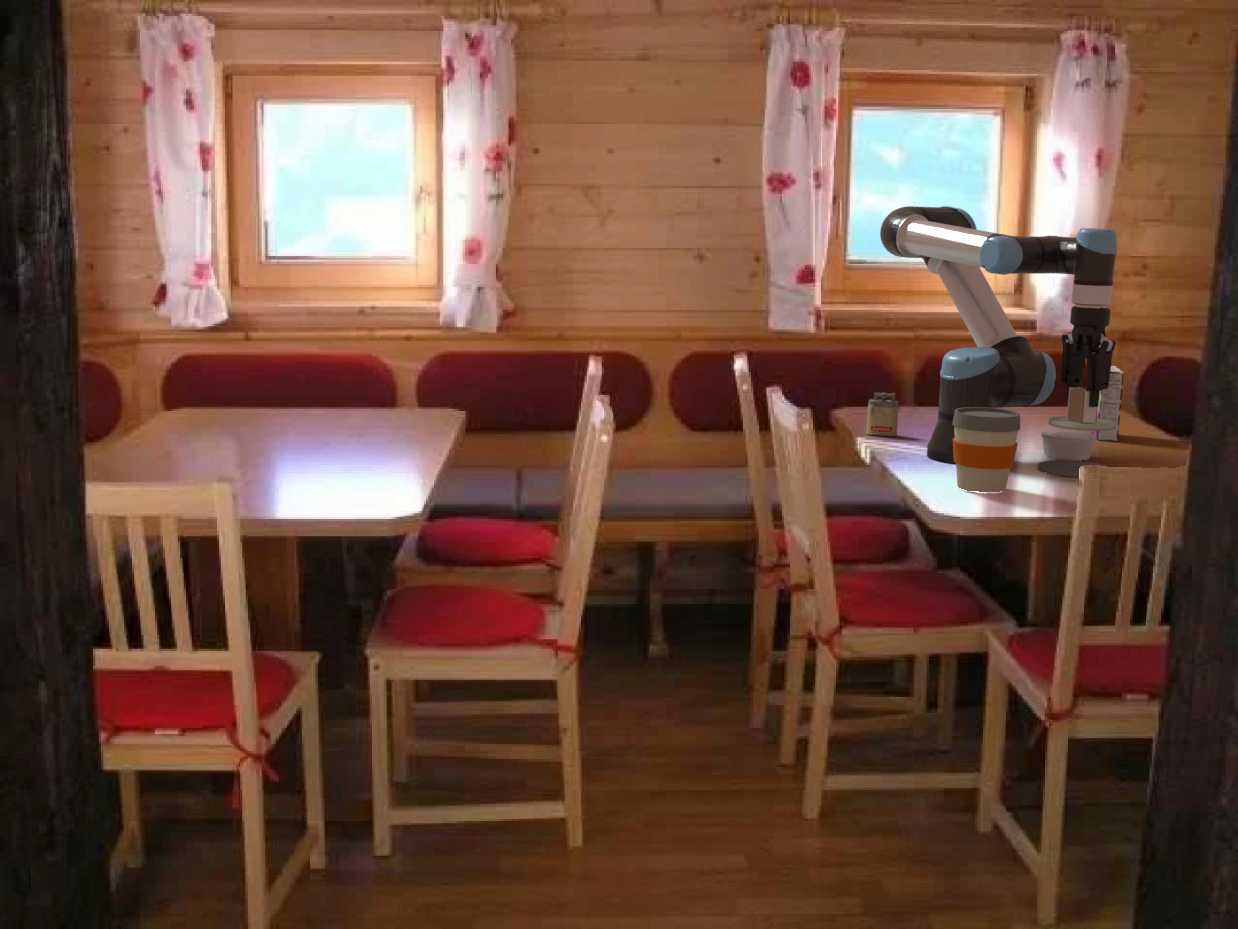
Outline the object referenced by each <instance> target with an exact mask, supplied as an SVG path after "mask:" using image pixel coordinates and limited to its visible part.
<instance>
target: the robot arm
mask: <svg viewBox="0 0 1238 929" xmlns="http://www.w3.org/2000/svg"><path fill="white" fill-rule="evenodd" d="M879 233H880V234H879V235H880V241H881V244H882V246H883V248H884V249H885V250H886V251H887V252H888V253H890V254H891V255H892V256H895V257H898V258H906V259H908V258H909V259H922V260H923V261H924V264H925V265H926V268H927V269H928V271H929V272H930V273H932V274H934V275H938V276H939V278H940V279H941V281H942V283H943V285H944V286H945V288H946V290H947V292H948V294H949V296H950V298H951V299H952V303H953V304H954V306H955V307H956V309H957V311H958V313H959V315H960V316H961V319H962V320H963V323H964V324H965V326H966V328H967V330H968V333H969V334H970V335H971V338H972V339H973V342H974V343H975V345H976V347H975V346H974V347H970V346H969V347H962V348H961V347H960V348H956V349H952V350H950V351H948V352H946V353H945V354H944V356H943V358H942V362H941V369H940V372H939V375H940V382H939V399H938V412H937V421H936V424H935V426H934V429H933V432H932V434H931V437H930V440H929V442H928V444H927V450H926V456H927V457H928V458H930V459H932V460H935V461H938V462H939V461H940V462H944V463H951V464H956V463H955V462H954V455H953V438H955V433H954V426H953V425H952V423H953V418H954V413H955V409H958V408H964V407H988V408H999V409H1003V408H1013V407H1014V408H1015V407H1023V408H1026V407H1027V408H1028V407H1030V406H1035V405H1040V404H1041V403H1043V402H1045V401H1046V400H1047V399H1048V398H1049V397H1050V395H1051V394H1052V392H1053V390H1054V388H1055V381H1056V376H1057V374H1056V373H1057V370H1056V365H1055V363H1054V361H1053V358H1052V357H1051V356H1050V355H1049V354H1047V353H1046V352H1043V351H1040V350H1037V351H1035V350H1034V348H1033V346H1032V345H1031V342H1030V340H1029V339H1028V338H1027V337H1026V336H1025V335H1022V334H1017V332H1016V330H1015V328H1014V326H1013V325H1012V323H1011V322H1010V320H1009V319H1008V316H1007V315H1006V312H1005V311H1004V309H1003V307H1002V305H1001V304H1000V302H999V299H998V298H997V297H996V294H995V293H994V291H993V289H992V287H991V285H990V284H989V282H988V280H987V278H986V276H985V275H984V273H983V271H982V269H985V272H987V273H990V274H995V275H1001V276H1003V275H1014V274H1016V275H1017V274H1019V275H1021V274H1027V275H1028V274H1029V275H1030V274H1034V275H1035V274H1036V275H1039V274H1060V275H1061V274H1062V275H1072V276H1073V285H1072V292H1071V293H1072V295H1071V303H1072V304H1073V306H1072V307H1071V310H1070V319H1069V323H1070V324H1071V325H1073V327H1072V330H1071V333H1068V334H1062V335H1061V342H1062V343H1061V344H1062V353H1061V354H1062V355H1061V356H1062V358H1061V372H1060V381H1061V383H1064V384H1066V387H1067V397H1066V400H1067V409H1066V410H1067V412H1066V416H1067V419H1068V409H1069V397H1070V389H1082V388H1083V387H1082V386H1084V384H1083V383H1081V381H1082V377H1083V373H1084V372H1083V371H1084V369H1085V368H1084V367H1085V365H1086V367H1087V368H1086V369H1087V388H1086V387H1085V388H1086V389H1085V390H1086V391H1085V398H1084V409H1083V421H1082V422H1083V423H1094V422H1095V421H1096V410H1097V407H1098V405H1099V394H1100V391H1101V390H1103V389H1107V388H1108V386H1109V378H1110V370H1111V366H1112V359H1113V352H1114V350H1115V348H1116V347H1115V346H1116V344H1117V342H1116V341H1115V340H1110V339H1109V338H1107V334H1106V327H1108V326H1110V321H1111V308H1110V307H1108V306H1111V305H1112V296H1113V284H1114V275H1115V264H1116V259H1117V258H1116V257H1117V253H1118V249H1117V242H1118V241H1117V239H1118V236H1117V235H1118V234H1117V232H1116V230H1114V229H1112V228H1096V227H1095V228H1093V227H1091V228H1085V227H1083V228H1080V229H1079V230H1078V232H1077V237H1071V236H1057V235H1042V236H1021V235H1020V236H1016V235H1008V234H1004V233H1003V234H1002V233H997V232H993V231H986V230H982V229H981V230H980V229H977V226H976V222H975V221H974V218H973V217H972V216H971V215H970V214H969V213H968V212H967V211H966V210H964V209H962V208H960V207H952V206H947V205H946V206H945V205H943V206H938V207H937V206H936V207H935V206H934V207H933V206H912V205H911V206H910V205H907V206H902V207H899V208H896V209H894V210H892V211H891V212H890V213H889V214H887V216H886V217H885V218H884V219H883V221H882V224H881V227H880V232H879ZM981 268H982V269H981Z"/></svg>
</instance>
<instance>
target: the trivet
mask: <svg viewBox="0 0 1238 929" xmlns="http://www.w3.org/2000/svg"><path fill="white" fill-rule="evenodd" d="M1037 464H1038V465H1037V470H1039V471H1040V472H1042V473H1044V472H1047V473H1046V474H1048V473H1050V474H1049V475H1052V474H1053V476H1056V475H1057V477H1063V478H1071V479H1072V478H1073V479H1079V478H1078V477H1079V468H1080V466H1083V465H1100V466H1107V464H1101V463H1097V462H1093V461H1092V462H1091V461H1074V460H1056V459H1052V460H1044V461H1040V462H1039V463H1037Z"/></svg>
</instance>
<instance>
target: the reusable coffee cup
mask: <svg viewBox="0 0 1238 929" xmlns="http://www.w3.org/2000/svg"><path fill="white" fill-rule="evenodd" d="M952 425H953V426H954V433H955V438H953V455H954V462H955V463H954V464H955V467H956V468H955V469H956V484H957V485H956V487H957V486H958V487H959V488H961V489H964V490H967V491H979V492H1000V491H1005V492H1006V489H1007V484H1008V480H1009V474H1010V470H1011V468H1012V467H1013V466H1014V463H1015V459H1016V458H1015V457H1016V453H1017V449H1018V442H1017V439H1018V434H1019V431H1020V430H1021V414H1020V412H1018V411H1015V410H1011V409H1004V408H988V407H964V408H958V409H955V413H954V418H953V423H952Z"/></svg>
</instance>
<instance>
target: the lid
mask: <svg viewBox="0 0 1238 929" xmlns="http://www.w3.org/2000/svg"><path fill="white" fill-rule="evenodd" d="M1085 389H1086V387H1085V388H1083V387H1082V389H1070V397H1069V409H1068V408H1067V410H1068V419H1067V415H1066V416H1065V415H1063V416H1055V417H1049V418H1048V425H1050V426H1052V427H1056V428H1059V429H1060V428H1061V429H1064V430H1073V431H1086V432H1088V431H1089V432H1091V431H1104V430H1112V429H1115V425H1116V423H1114V422H1112V421H1109V420H1104V419H1098V418H1097V411H1098V407H1097V410H1096V421H1095V422H1094V423H1083V422H1082V421H1083V409H1084V398H1085V391H1086V390H1085Z"/></svg>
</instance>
